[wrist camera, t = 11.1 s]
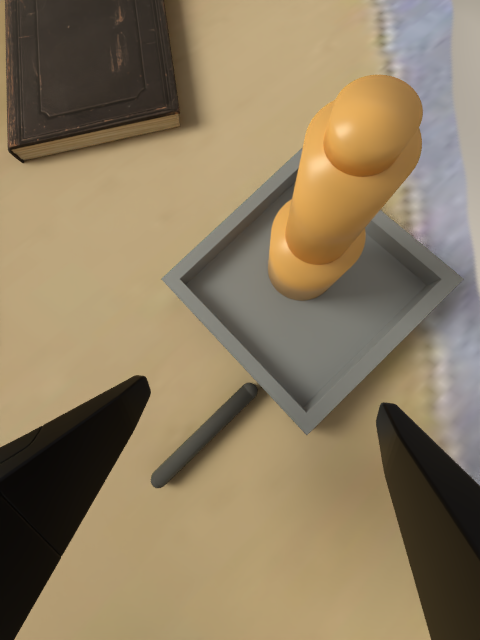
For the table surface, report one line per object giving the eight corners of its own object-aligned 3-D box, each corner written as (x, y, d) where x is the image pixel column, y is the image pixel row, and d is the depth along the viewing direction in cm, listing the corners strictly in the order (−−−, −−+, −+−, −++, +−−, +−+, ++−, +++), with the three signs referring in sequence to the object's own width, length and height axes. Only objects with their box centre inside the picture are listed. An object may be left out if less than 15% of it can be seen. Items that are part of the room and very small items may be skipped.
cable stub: (260, 390, 19) (260, 392, 17) (162, 486, 18) (155, 495, 17) (249, 378, 19) (249, 380, 18) (151, 473, 18) (144, 481, 17)
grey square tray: (442, 287, 19) (463, 279, 17) (301, 426, 18) (306, 435, 16) (299, 166, 21) (303, 146, 19) (170, 286, 20) (161, 278, 18)
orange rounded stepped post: (345, 287, 19) (515, 156, 6) (281, 310, 19) (323, 225, 6) (320, 227, 19) (425, 8, 7) (258, 249, 20) (257, 73, 7)
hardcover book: (159, -51, 26) (150, -89, 24) (186, 133, 23) (178, 109, 21) (21, -15, 27) (-1, -49, 25) (26, 167, 24) (2, 147, 22)
